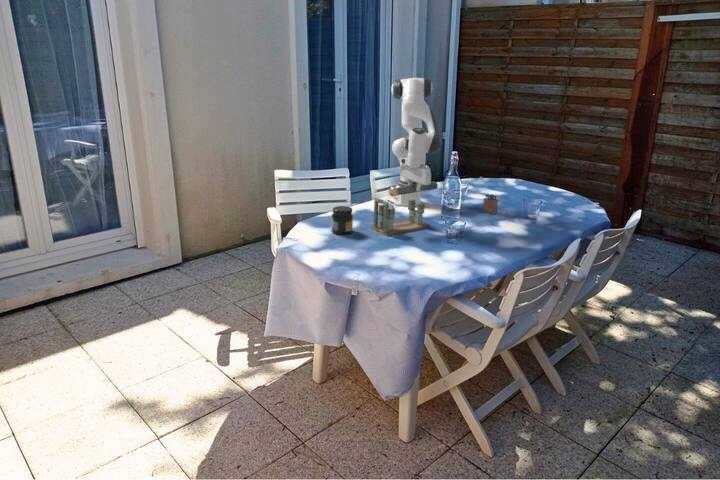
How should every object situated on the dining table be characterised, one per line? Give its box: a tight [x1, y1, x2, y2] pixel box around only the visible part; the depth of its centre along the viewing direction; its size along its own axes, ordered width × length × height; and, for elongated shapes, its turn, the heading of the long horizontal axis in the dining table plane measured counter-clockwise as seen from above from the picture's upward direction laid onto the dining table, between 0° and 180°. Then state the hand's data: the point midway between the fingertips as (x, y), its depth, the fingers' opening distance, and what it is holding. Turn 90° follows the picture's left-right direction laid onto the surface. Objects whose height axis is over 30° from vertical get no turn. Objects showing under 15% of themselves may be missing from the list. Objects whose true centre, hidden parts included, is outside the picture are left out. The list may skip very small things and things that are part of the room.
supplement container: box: [331, 205, 354, 236], centre depth 270 cm, size 10×10×12 cm
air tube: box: [388, 181, 439, 196], centre depth 274 cm, size 28×4×4 cm, turn 125°
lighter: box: [482, 193, 499, 214], centre depth 311 cm, size 8×3×10 cm, turn 84°
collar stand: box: [370, 197, 431, 237], centre depth 277 cm, size 13×28×16 cm, turn 125°
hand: (413, 189), depth 275 cm, fingers closed on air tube, 4 cm apart
